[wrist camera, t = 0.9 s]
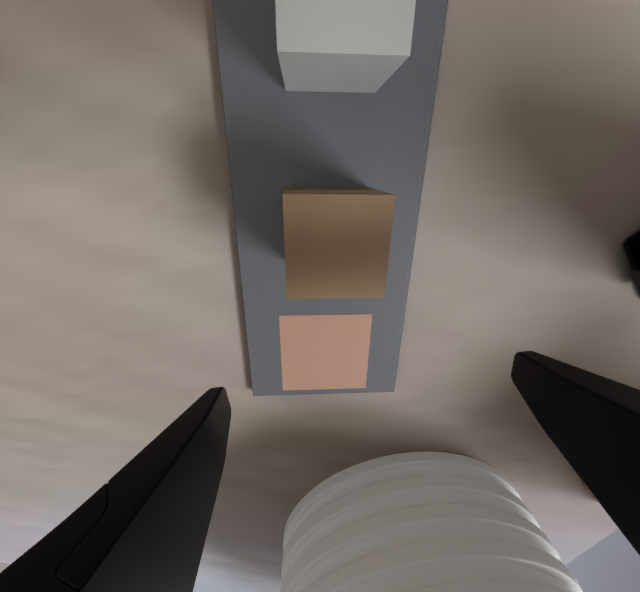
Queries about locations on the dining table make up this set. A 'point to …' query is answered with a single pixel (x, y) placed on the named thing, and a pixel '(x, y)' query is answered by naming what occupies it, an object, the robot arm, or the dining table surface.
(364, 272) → the walnut block
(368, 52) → the grey block
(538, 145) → the dining table surface
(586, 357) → the dining table surface
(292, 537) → the plate stack
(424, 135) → the board
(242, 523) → the dining table surface
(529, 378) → the robot arm
